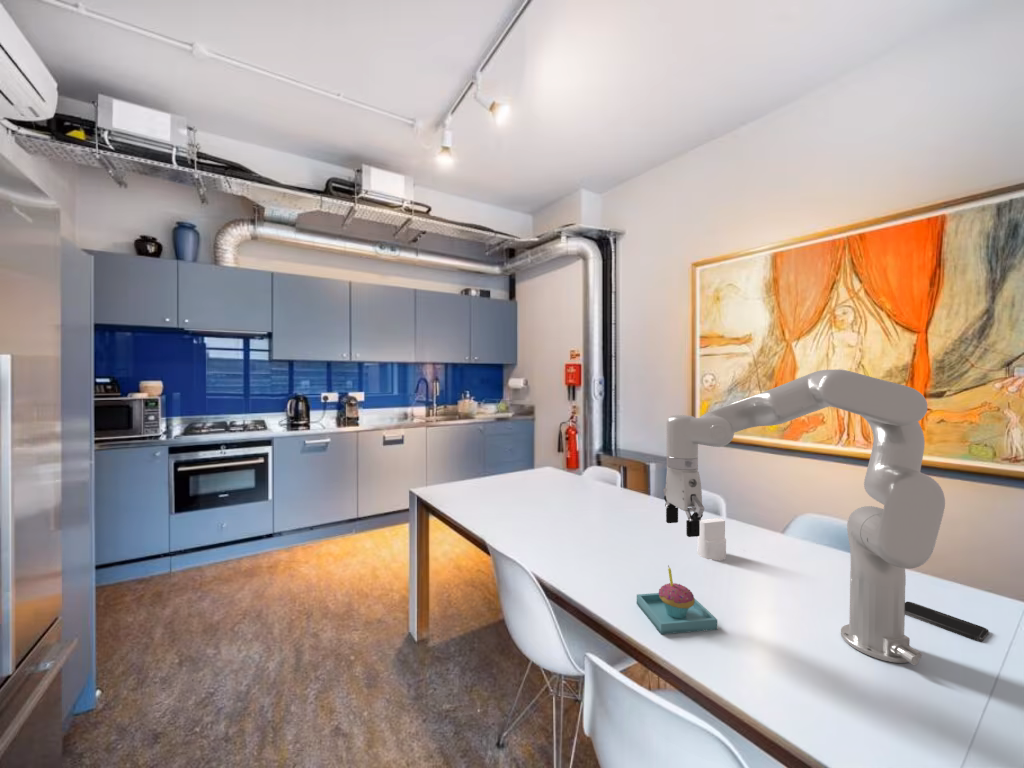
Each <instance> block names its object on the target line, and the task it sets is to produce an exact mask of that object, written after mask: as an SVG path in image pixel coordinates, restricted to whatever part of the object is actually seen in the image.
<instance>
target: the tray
mask: <svg viewBox="0 0 1024 768" xmlns="http://www.w3.org/2000/svg"><path fill="white" fill-rule="evenodd" d="M694 600H695V602H694V605H693V606H691V607H690V608H689V609H688V611H687V614H686V616H685V617H684V618H674V617H671V616H670V615H668V614H667V612H666V609H665V606H664V603H663V601H662V600H661V599H660V597H659V592H655V593H640V594H639V593H638V594H636V605H637V606H638V607H639V609H640V610H641V611H642V613H643V614H644V615H645V617H646V618H647V619H648V620H649V621H650V622H651V624H652V626H653V627H655V629H656V630H657V632H658V633H659V634H660V635H669V634H670V635H671V634H680V633H681V634H682V633H693V632H702V631H703V632H706V630H707V631H716V630H718V619H717V618H716V617H715V616H714V615H713V614H712V613H711V612H710V611H709V610H707V609H706V607H705V606H703V604H701V603H700V602H699V601H698V600H697V599H696V598H695V597H694ZM704 630H705V631H704Z"/></svg>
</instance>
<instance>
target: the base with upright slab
mask: <svg viewBox="0 0 1024 768" xmlns="http://www.w3.org/2000/svg"><path fill="white" fill-rule="evenodd" d="M696 538H697V541H696V543H697V545H696V546H697V548H696V549H697V551H696V552H697V553H696V554H697V555H698V556H700V557H701V558H703V559H706V560H709V559H712V560H711V561H717V560H719V561H723V560H722V559H724V560H726V558H727V539H726V520H725V519H722V518H720V517H716V518H708V519H707V518H706V519H701V521H700V535H699V536H697V537H696Z"/></svg>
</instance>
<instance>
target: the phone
mask: <svg viewBox="0 0 1024 768" xmlns="http://www.w3.org/2000/svg"><path fill="white" fill-rule="evenodd" d="M905 616H908V617H909V618H910V617H911V618H912V619H915V620H919V621H920V622H924V623H927V624H929V625H931V626H934V627H937V628H939V629H943V630H945V631H947V632H951V633H953V634H956V635H959V636H961V637H965V638H966V639H969V640H972V641H975V642H981V643H982V642H984V640H985V639H986V638H987V637H988V635H989V633H990V632H989V631H990V629H988V628H987V627H984V626H981V625H978V624H975V623H972V622H969V621H966V620H965V619H961V618H958V617H955V616H952V615H950V614H947V613H945V612H941V611H937V610H935V609H933V608H929V607H927V606H924V605H921V604H918V603H915V602H911V601H905Z"/></svg>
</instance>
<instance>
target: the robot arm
mask: <svg viewBox="0 0 1024 768" xmlns="http://www.w3.org/2000/svg"><path fill="white" fill-rule="evenodd" d="M828 407H829V408H836V409H839V410H842V411H845V412H848V413H852V414H856V415H859V416H861V417H862V418H863V419H864V420H865V421H866V422H867V423H868V425H869V426H870V428H871V430H872V431H871V432H872V435H873V436H872V437H873V441H872V449H871V452H870V453H871V454H870V458H869V461H868V465H867V469H866V472H865V476H864V481H863V487H864V490H865V492H866V493H867V495H868V496H869V497H871V498H872V499H873V500H875V501H876V502H879V504H882V505H883V508H881V507H878V506H872V505H871V506H870V505H869V506H866V505H865V506H861V507H859V508H856V509H855V510H853V511H852V512H851V513H850V514H849V517H848V520H847V525H846V526H847V529H846V530H847V536H848V537H847V538H848V544H849V551H850V552H849V553H850V554H849V555H850V573H849V579H850V580H849V581H850V582H849V623H848V624H844V625H843V626H841V628H840V635H841V638H842V639H843V640H844V641H845V642H846V643H847V644H848V645H849V646H851V647H852V648H853V649H856V650H857V651H859V652H861V653H863V654H865V655H868V656H869V657H872V658H875V659H877V660H881V661H885V662H889V663H895V664H896V663H897V664H898V663H899V664H903V663H904V664H905V663H910V664H912V666H913V665H914V666H916V665H918V664H919V662H920V659H922V656H923V655H922V653H921V651H918V650H917V649H915V648H913V647H911V645H910V642H911V641H910V637H908V636H907V635H905V627H906V626H905V619H906V618H905V616H906V615H905V602H906V583H907V582H906V580H907V579H906V576H907V575H906V569H909V570H911V569H916V568H919V567H921V566H923V565H924V564H926V563H927V562H928V561H929V559H930V558H931V556H932V554H933V552H934V550H935V546H936V543H937V540H938V539H937V538H938V536H939V531H940V528H941V524H942V519H943V517H944V513H945V507H946V498H945V494H944V493H945V492H944V491H943V488H942V486H941V485H940V484H939V483H938V482H937V481H936V480H935V479H934V478H932V477H931V476H930V475H928V474H926V473H923V472H921V469H922V462H923V459H924V458H923V456H924V454H925V453H924V451H925V444H926V443H925V434H924V431H923V429H922V427H921V424H920V421H921V420H923V418H924V417H925V415H926V414H927V413H928V402H927V399H926V398H925V396H924V395H923V394H922V393H921V392H920V391H918V390H916V389H915V388H913V387H911V386H908V385H905V384H900V383H897V382H892V381H888V380H884V379H880V378H877V377H872V376H869V375H865V374H861V373H857V372H854V371H850V370H845V369H839V368H838V369H821V370H816V371H814V372H811V373H809V374H806V375H804V376H801V377H798V378H795V379H793V380H790V381H789V382H786V383H784V384H783V383H782V384H780V385H779V386H776V387H773V388H770V389H768V390H765V391H762V392H760V393H757V394H754V395H751V396H748V397H747V398H744V399H741V400H738V401H734V402H733V403H729V404H727V405H723V406H721V407H719V408H717V409H714V410H711V411H708V412H706V413H704V414H702V415H701V416H700V417H695V416H693V415H687V414H686V415H685V414H684V415H683V414H682V415H679V414H676V415H670V416H668V417H667V419H666V474H665V477H666V478H665V487H663V488H662V489H663V490H662V491H663V496H664V497H663V499H664V501H665V504H664V507H665V509H666V510H665V519H666V520H665V522H666V523H668V524H677V523H678V522H679V509H680V510H681V511H683V512H685V514H686V517H687V520H686V528H685V529H686V530H685V531H686V536H687V537H688V538H694V537H696V538H697V536H699V535H700V521H701V520H702V517H703V515H704V511H705V506H704V505H703V495H702V493H703V492H702V482H701V477H700V471H699V445H703V446H709V447H713V448H714V447H716V448H720V447H725V446H727V445H728V444H730V443H731V442H732V441H733V439H734V436H735V433H737V432H741V431H744V430H747V429H750V428H756V427H767V426H768V427H769V426H771V427H772V426H777V425H782V424H785V423H788V422H791V421H793V420H796V419H798V418H800V417H803V416H806V415H809V414H811V413H815V412H818V411H819V410H823V409H826V408H828ZM692 512H693V513H692Z"/></svg>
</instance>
